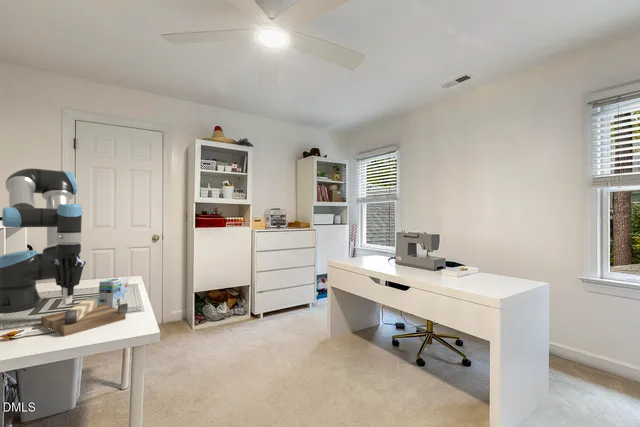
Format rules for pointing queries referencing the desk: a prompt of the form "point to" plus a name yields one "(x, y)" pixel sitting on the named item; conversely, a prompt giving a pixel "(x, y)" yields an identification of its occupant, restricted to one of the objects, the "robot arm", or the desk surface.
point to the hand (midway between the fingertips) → (67, 303)
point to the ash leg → (81, 310)
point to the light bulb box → (113, 291)
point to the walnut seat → (85, 319)
